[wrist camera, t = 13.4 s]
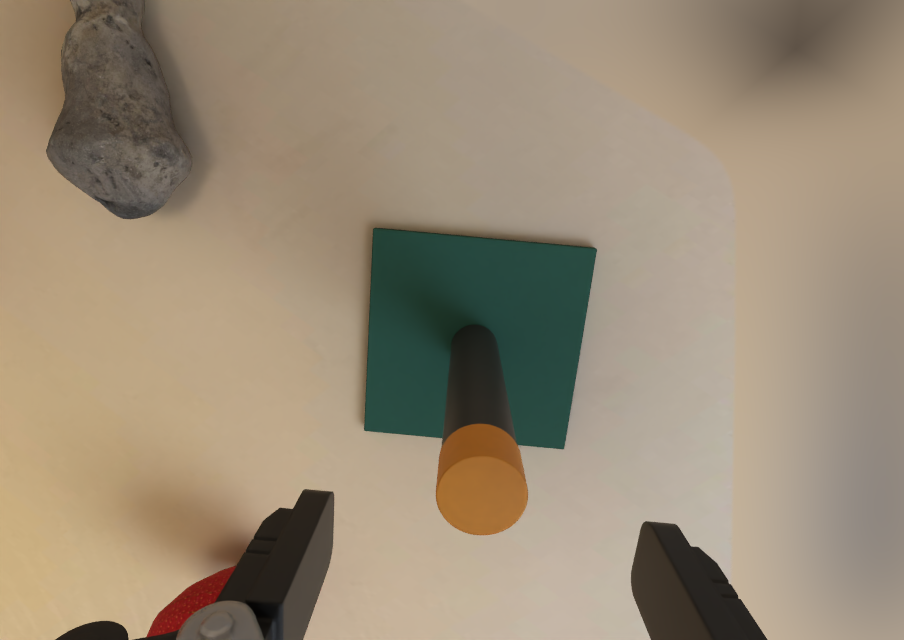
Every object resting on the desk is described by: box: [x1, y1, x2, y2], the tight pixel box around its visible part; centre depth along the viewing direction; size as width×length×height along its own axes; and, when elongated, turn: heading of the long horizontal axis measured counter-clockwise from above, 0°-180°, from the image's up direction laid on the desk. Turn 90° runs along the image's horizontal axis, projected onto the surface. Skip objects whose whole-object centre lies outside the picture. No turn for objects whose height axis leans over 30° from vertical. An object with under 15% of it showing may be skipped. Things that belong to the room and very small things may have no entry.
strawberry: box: [147, 566, 236, 637], centre depth 28 cm, size 6×8×10 cm
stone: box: [46, 0, 192, 219], centre depth 23 cm, size 10×5×8 cm
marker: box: [436, 325, 528, 535], centre depth 21 cm, size 3×3×14 cm
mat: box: [364, 228, 597, 449], centre depth 28 cm, size 12×12×1 cm
